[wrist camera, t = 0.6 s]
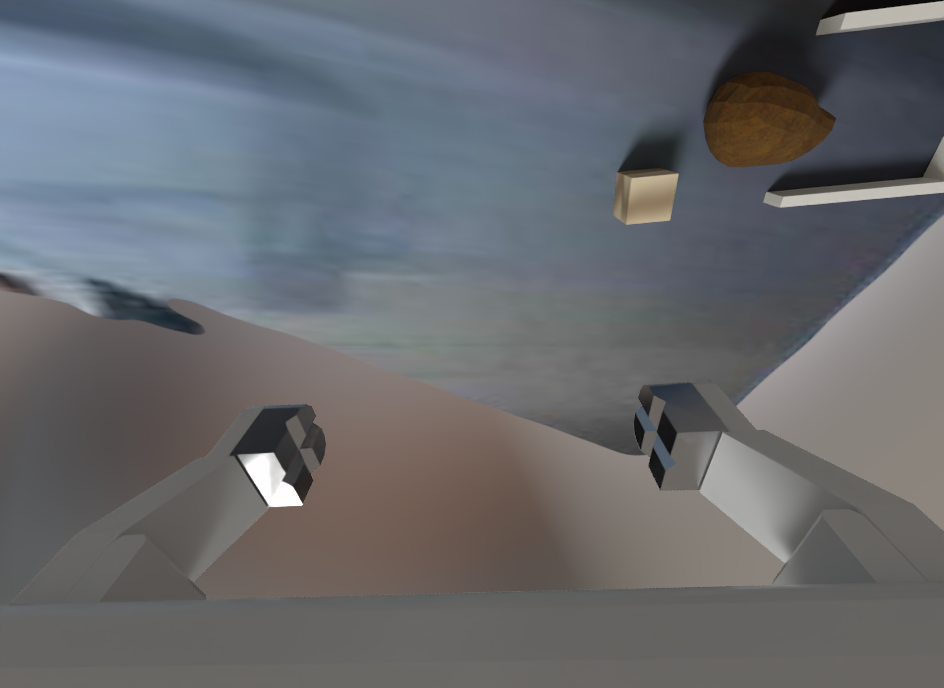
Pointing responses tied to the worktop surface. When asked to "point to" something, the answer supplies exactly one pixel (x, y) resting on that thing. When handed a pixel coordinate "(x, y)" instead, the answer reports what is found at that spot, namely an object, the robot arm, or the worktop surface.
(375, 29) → the worktop surface
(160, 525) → the robot arm
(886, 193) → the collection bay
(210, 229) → the worktop surface
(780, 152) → the potato
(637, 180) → the beech block
